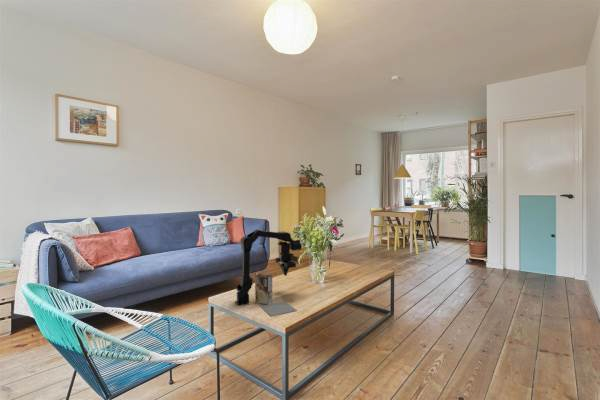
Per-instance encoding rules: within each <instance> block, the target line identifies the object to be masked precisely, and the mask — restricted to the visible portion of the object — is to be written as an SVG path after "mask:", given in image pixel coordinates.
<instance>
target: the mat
mask: <svg viewBox="0 0 600 400" xmlns="http://www.w3.org/2000/svg"><path fill="white" fill-rule="evenodd" d="M259 308H261V309H262V310H263V311H264V312H266V314H268V316H270V317H274V316H279V315H285V314H288V313H292V312H293V313H294V312H297V311H298V310H297V309H296V308H294V306H292V305H291V304H289V303H288V302H287V301H285V300H283V301H279V302H278V301H277V302H273V303H272V302H271V303H269V304H264V305H260V306H259Z"/></svg>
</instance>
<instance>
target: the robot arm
mask: <svg viewBox="0 0 600 400" xmlns="http://www.w3.org/2000/svg"><path fill="white" fill-rule="evenodd" d="M259 237H261V238H270V239H278V240H280V241H279V242H278V243H277V245H278V246H280V252H279V255H280V257H278V256H277V257H276V258H275V260H274V262H275V263H279V267H280V269H281V271H282V273H283V275H284V276H285V277H286V276H287V275H288V271H289V269H291V268H296V267H297V262H298V259H299V257H298V256H295V254H294V253H291V251H292V252H294V251H301V250H302V243H301V240H300V239H296V240H295V239H294V240H293V238H292V236H291V234H290V233H289V232H286V231H276V232H275V231H270V230H269V231H268V230H261V229H254V230H253V231H252V232H250V233H249V234H247V235H245V236H243V237H241V239H240V246H241V250H242V268H241V270H242V271H241V276H240V281H239V284H238V285H237V286H236V287H235V289H236V300H235V302H236V304H237V305H239V306H241V305H246V304H250V302H249V301H250V294H249V292H250V290H251V289H252V286H253V277H251V275H250V270H251V269H250V265H251V264H250V263H251V262H250V261H251V256H250V255H251V250H252V247H253V243H255V241H257V240H258V239H259Z"/></svg>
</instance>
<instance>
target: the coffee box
mask: <svg viewBox="0 0 600 400" xmlns="http://www.w3.org/2000/svg"><path fill="white" fill-rule="evenodd" d="M254 282H255V283H254V286H255V287H254V289H255V290H254V291H255V293H254V295H255V303H258V304H264V305H267V304H272V302H273V301H274V300H273V297H274V296H273V274H264V273H259V274H257V275H255V276H254Z"/></svg>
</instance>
